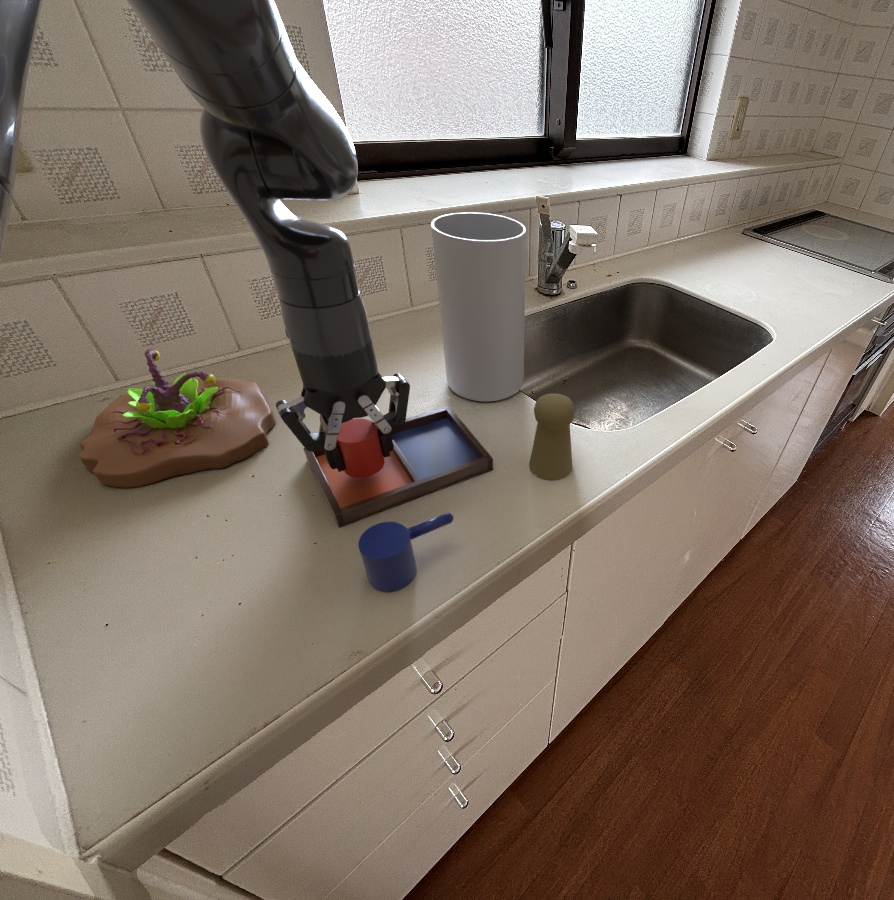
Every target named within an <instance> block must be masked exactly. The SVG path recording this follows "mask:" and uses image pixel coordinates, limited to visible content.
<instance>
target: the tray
mask: <svg viewBox="0 0 894 900" xmlns="http://www.w3.org/2000/svg"><path fill="white" fill-rule="evenodd" d="M391 435H392V440H393V445H394V449H393V451H391V452H390V456H388V457H385V458H384V466H383V468H382V469H381V470H380V471H379V472H377V473H376V474H374V475H371V476H368V477H363V478H355V477H351V476H349V475H347V474H346V473H345V472H344V471H341V472H338V470H337V469H332V468H331V467H330V466H329V464H328V462H327V460H326V457H325V453H324V450H323V449H316V450H314V451H307V450H306V449H305V447H303V451H304V454H305V457H306V460H307V462H308V464H309V467H310V469H311V471H312V473H313V475H314V477H315V479H316V482H317V483H318V486H319V488H320V490H321V492H322V494H323V496H324V499H325V501H326V504H327V505H328V507H329V509H330V511H331V514H332V516H333V518H334V520H335V522H336V525H337V527H338V528H341V527H344V526H347V525H349V524H352V523H355V522H358V521H360V520H363V519H365V518H368V517H370V516H373V515H376V514H378V513H381V512H385V511H387V510H390V509H393V508H395V507H397V506H400V505H403V504H405V503H408V502H410V501H414V500H416V499H419V498H422V497H424V496H426V495H429V494H432V493H435V492H437V491H440V490H443V489H445V488H448V487H451V486H454V485H456V484H459V483H462V482H463V481H466V480H469V479H473V478H475V477H477V476H480V475H483V474H485V473H488V472H491V471H493V470H494V458H493V456H492V455H491V454H490V453H489V452H488V451H487V450H486V448H485V447H484V446H483V444H482V443H481V442H480V441H479V440H478V439H477V437H476V436H475V435H474V434H473V432H471V431H470V429H468V427H467V426H466V424H464V422H463V421H462V419H460V417H459V416H458V415H457V414H456V413H455V411H453V409H452V408H451V407H450V406H445V407H441V408H438V409H435V410H431V411H428V412H423V413H420V414H417V415H413V416H410V417H406V421H405V423H404V424H403V425H401V426H398V425H396V426H395V427H393V428H392V430H391ZM383 457H384V456H383Z"/></svg>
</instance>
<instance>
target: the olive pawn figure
mask: <svg viewBox="0 0 894 900" xmlns="http://www.w3.org/2000/svg"><path fill="white" fill-rule="evenodd" d="M575 413H576V408H575V405H574V402H573V401H572V399H570V398H569V397H568V396H566V395H564V394H561V393H551V392H550V393H546V394H543V395H541V396H540V397H539V398H538V399H537V400H536V401H535V404H534V407H533V414H534V419H535V421H536V422H537V423H536V429H535V434H534V439H533V444H532V448H531V453H530V457H529V463H528V466H529V470H530V472H531V473H532V474H533V475H534V476H536V477H537V478H539V479H542V480H546V481H559V480H562V479H565V478H566V477H567V476H569V475H570V474H571V472H572V471H573V453H572V438H571V424H572V423H573V421H574V418H575Z"/></svg>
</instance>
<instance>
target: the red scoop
mask: <svg viewBox="0 0 894 900" xmlns="http://www.w3.org/2000/svg"><path fill="white" fill-rule="evenodd" d="M336 445H337V446H338V448H339V451H340V455H341V458H342V462H343V465H344V469H345V470H344V472H345V473H346V474H347V475H349V476H351V477H355V478H363V477H368V476H371V475H374V474H376V473H377V472H379V471H380V470H381V469H382V468H383V466H384V457H383V452H382V448H381V443H380V439H379V434H378V430H377V426H376V424H375V423H374V422H373V420H371V419H367V418H353V419H351V420H349V421H347V422H344V423H342V424H341V430H340V434H338V437H337V443H336Z"/></svg>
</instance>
